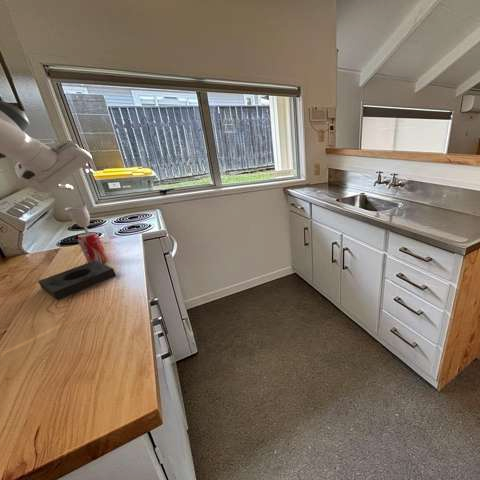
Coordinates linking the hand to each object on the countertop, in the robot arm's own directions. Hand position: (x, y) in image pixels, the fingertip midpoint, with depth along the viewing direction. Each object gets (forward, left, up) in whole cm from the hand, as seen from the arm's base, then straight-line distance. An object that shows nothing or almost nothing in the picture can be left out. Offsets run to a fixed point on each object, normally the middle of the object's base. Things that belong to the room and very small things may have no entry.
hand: (82, 181), depth 97 cm
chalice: (0, +20, -31) cm, 37 cm away
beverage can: (-7, -5, -31) cm, 32 cm away
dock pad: (-17, -17, -31) cm, 39 cm away
